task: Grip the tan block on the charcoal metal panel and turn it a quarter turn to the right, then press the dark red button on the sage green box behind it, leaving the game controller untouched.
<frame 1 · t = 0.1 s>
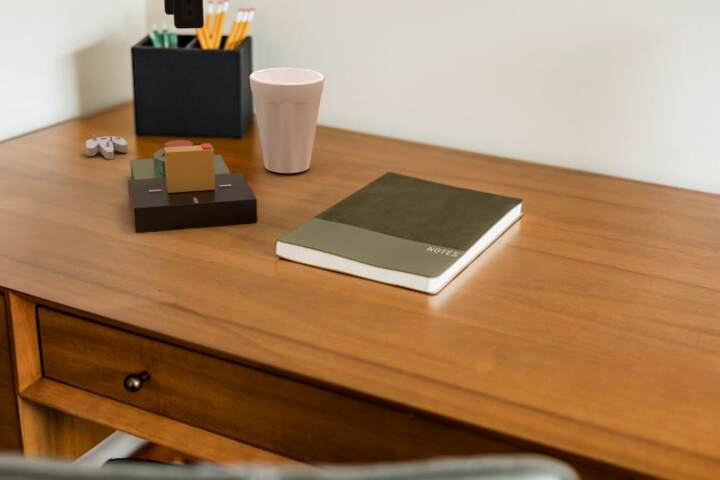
hand: (183, 20, 104), 22 cm above the table, tool pointing down, fingers open, 9 cm apart
tan block: (189, 167, 106), point 6 cm above the table, hinge at 0.0°
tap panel: (191, 212, 108), on the table
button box: (180, 183, 118), on the table
cup: (287, 170, 125), on the table
game controller: (103, 149, 131), on the table
button: (179, 150, 116), point 4 cm above the table, slide at 0.1 cm
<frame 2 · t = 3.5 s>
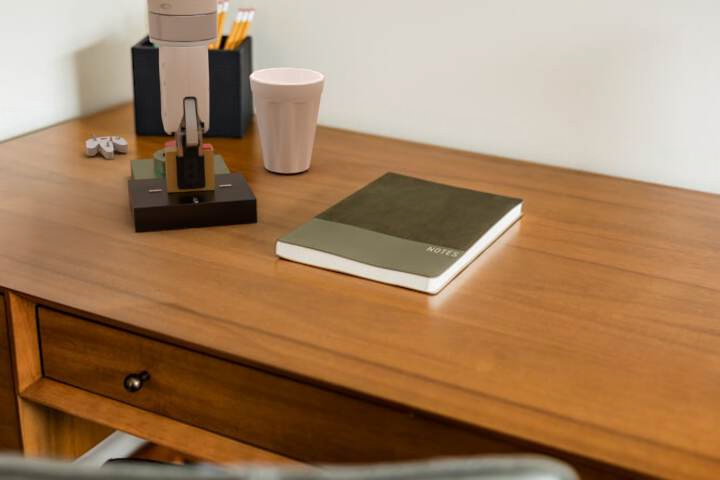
hand: (190, 183, 107), 4 cm above the table, tool pointing down, fingers closed on tan block, 2 cm apart
tan block: (189, 167, 106), point 6 cm above the table, hinge at -2.5°, touching gripper
everything else where it was.
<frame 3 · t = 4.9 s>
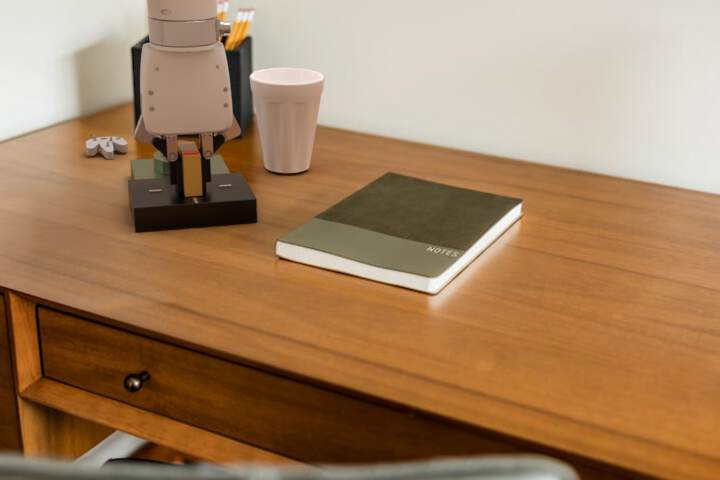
hand: (190, 187, 107), 3 cm above the table, tool pointing down, fingers closed on tan block, 2 cm apart
tan block: (189, 167, 106), point 6 cm above the table, hinge at -89.9°, touching gripper
everything else where it was.
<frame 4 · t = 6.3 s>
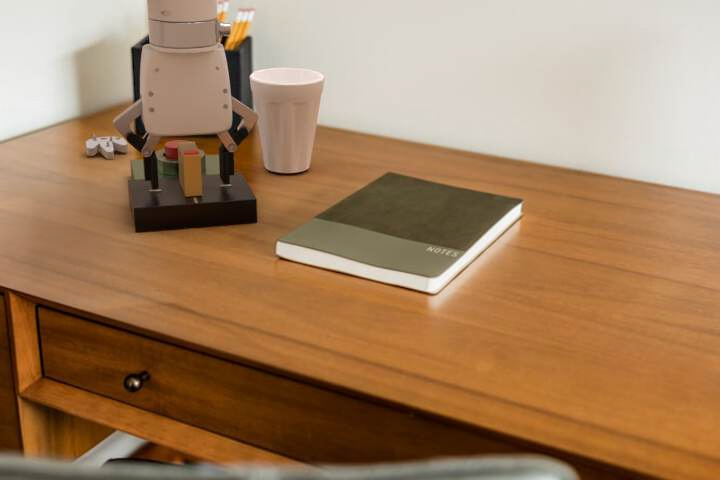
hand: (189, 182, 107), 4 cm above the table, tool pointing down, fingers open, 7 cm apart
tan block: (189, 167, 106), point 6 cm above the table, hinge at -90.2°
everything else where it was.
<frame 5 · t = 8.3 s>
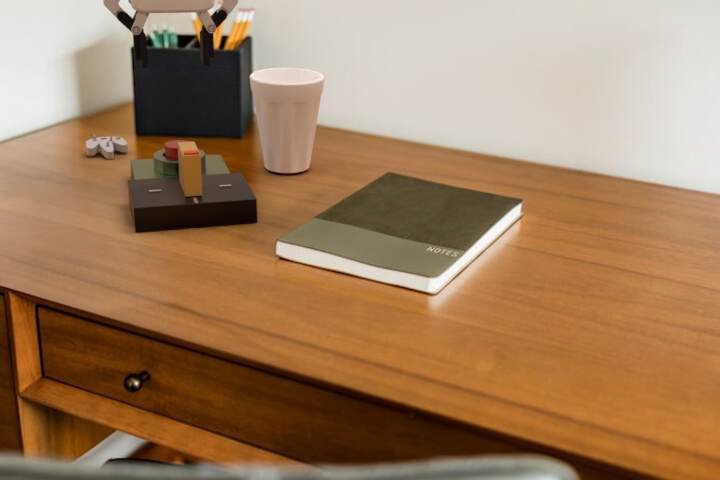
hand: (174, 63, 112), 16 cm above the table, tool pointing down, fingers open, 6 cm apart
nothing on the table moved.
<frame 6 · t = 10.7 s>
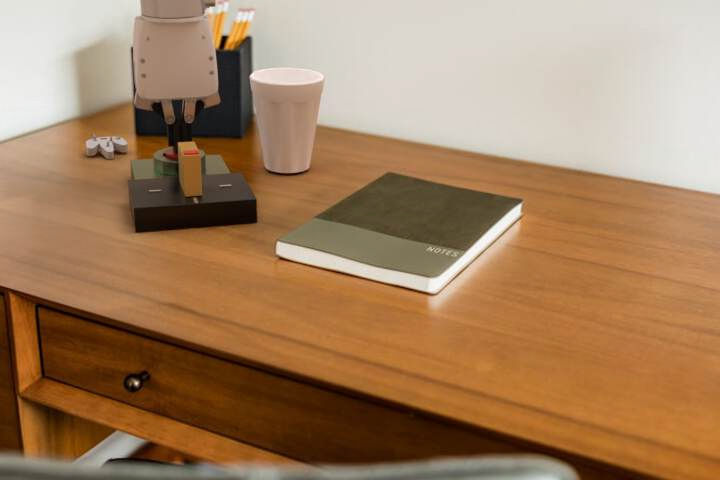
hand: (180, 150, 116), 4 cm above the table, tool pointing down, fingers closed
button: (179, 157, 117), point 4 cm above the table, slide at -0.8 cm, touching gripper
everything else where it was.
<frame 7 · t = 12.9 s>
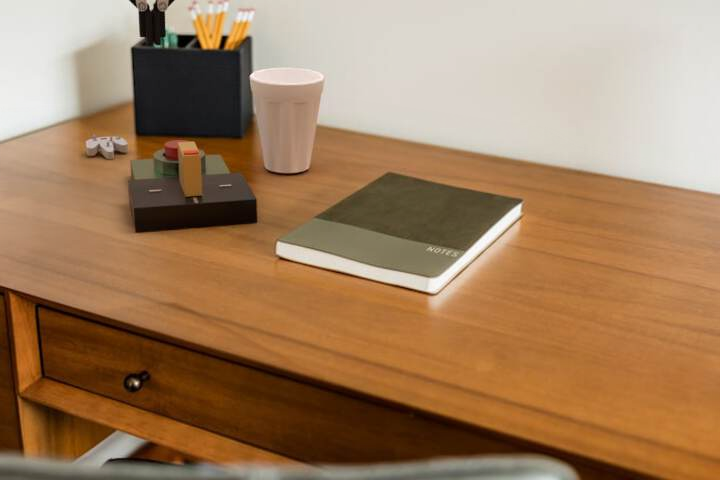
hand: (152, 43, 109), 19 cm above the table, tool pointing down, fingers closed
button: (179, 150, 116), point 4 cm above the table, slide at 0.1 cm
everything else where it was.
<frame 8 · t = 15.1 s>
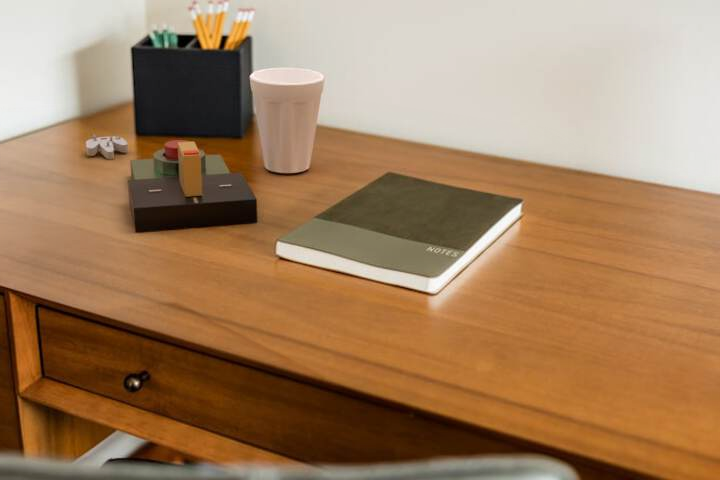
nothing on the table moved.
at the end: tan block at -90° (first picture: +0°); button pushed in 1.1 cm at the most during the clip, back to where it started at the end; game controller moved 0.2 cm from its start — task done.
